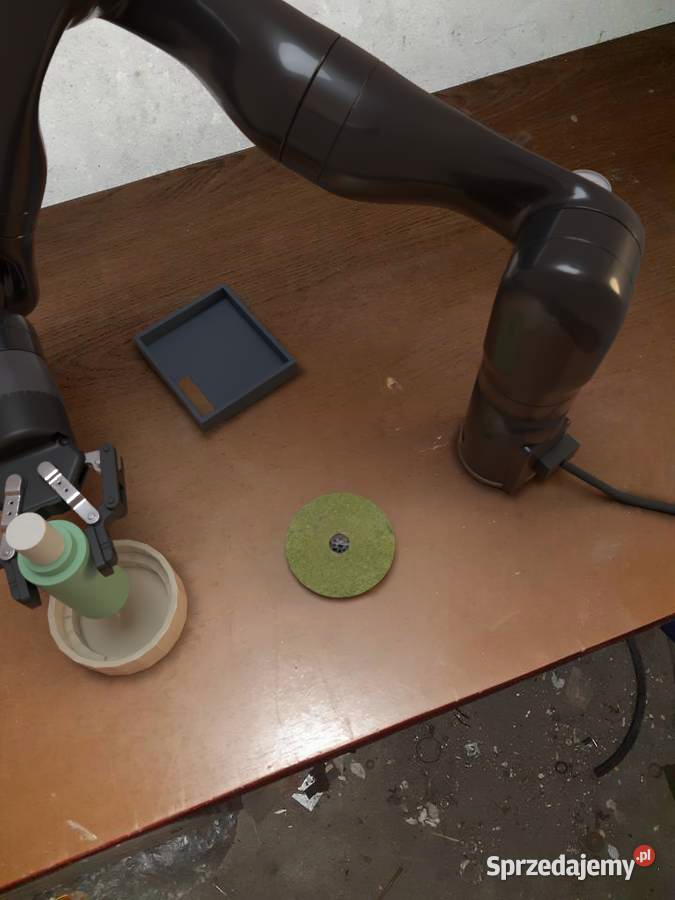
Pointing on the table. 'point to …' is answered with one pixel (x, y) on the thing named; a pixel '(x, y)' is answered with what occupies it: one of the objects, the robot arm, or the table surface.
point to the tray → (216, 354)
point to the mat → (340, 545)
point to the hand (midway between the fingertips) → (69, 587)
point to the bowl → (127, 617)
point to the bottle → (65, 566)
